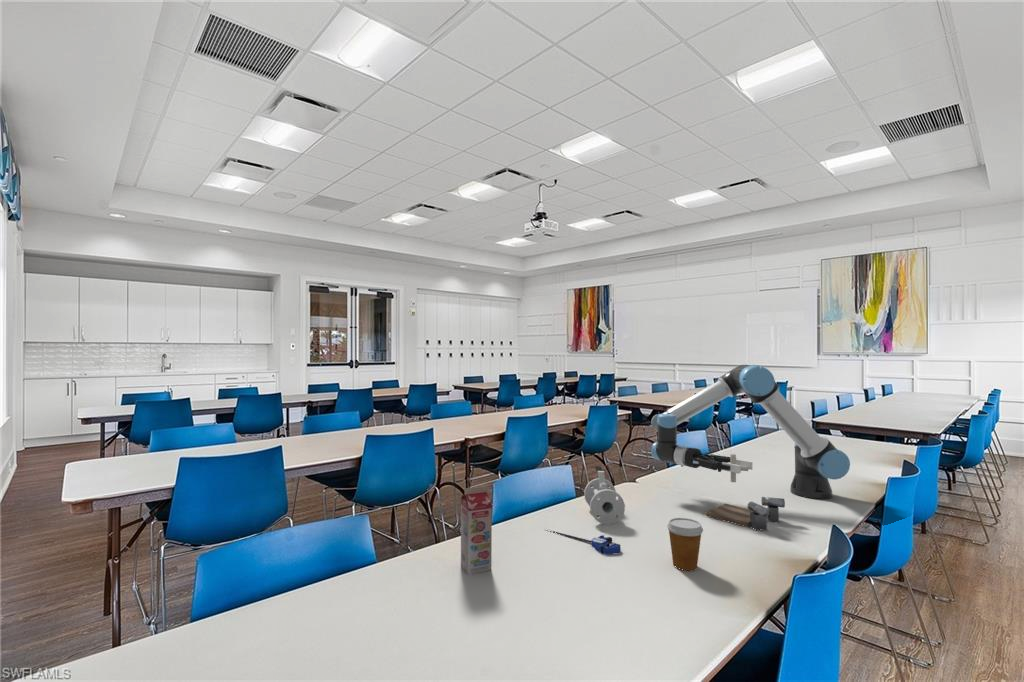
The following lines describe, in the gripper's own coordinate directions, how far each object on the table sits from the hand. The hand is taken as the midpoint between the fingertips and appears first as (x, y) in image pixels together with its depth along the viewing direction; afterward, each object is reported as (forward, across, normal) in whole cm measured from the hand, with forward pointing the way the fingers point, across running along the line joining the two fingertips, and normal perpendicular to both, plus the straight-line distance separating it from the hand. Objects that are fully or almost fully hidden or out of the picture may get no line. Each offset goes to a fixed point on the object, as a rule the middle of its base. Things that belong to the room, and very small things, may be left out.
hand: (746, 467), depth 178 cm
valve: (-36, +36, -19) cm, 54 cm away
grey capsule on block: (+7, -5, -18) cm, 20 cm away
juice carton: (-29, +98, -19) cm, 104 cm away
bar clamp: (-26, +61, -19) cm, 69 cm away
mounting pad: (-3, +1, -18) cm, 19 cm away
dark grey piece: (+7, +7, -18) cm, 21 cm away
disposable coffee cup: (+8, +53, -18) cm, 56 cm away
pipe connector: (-5, 0, -6) cm, 8 cm away
